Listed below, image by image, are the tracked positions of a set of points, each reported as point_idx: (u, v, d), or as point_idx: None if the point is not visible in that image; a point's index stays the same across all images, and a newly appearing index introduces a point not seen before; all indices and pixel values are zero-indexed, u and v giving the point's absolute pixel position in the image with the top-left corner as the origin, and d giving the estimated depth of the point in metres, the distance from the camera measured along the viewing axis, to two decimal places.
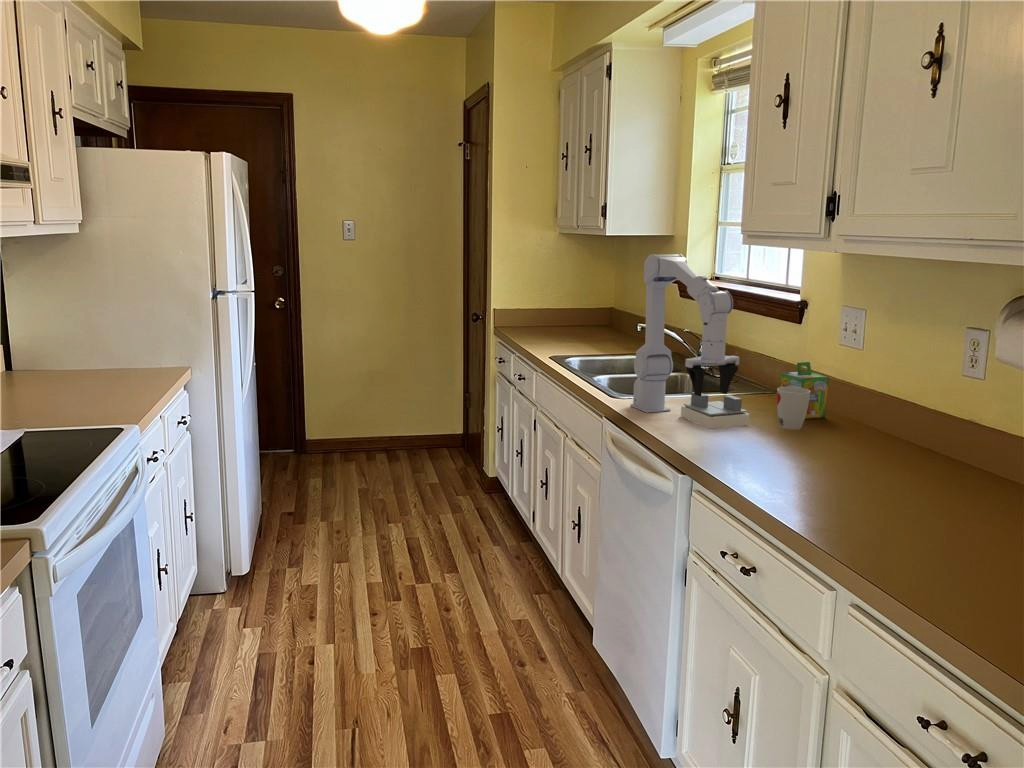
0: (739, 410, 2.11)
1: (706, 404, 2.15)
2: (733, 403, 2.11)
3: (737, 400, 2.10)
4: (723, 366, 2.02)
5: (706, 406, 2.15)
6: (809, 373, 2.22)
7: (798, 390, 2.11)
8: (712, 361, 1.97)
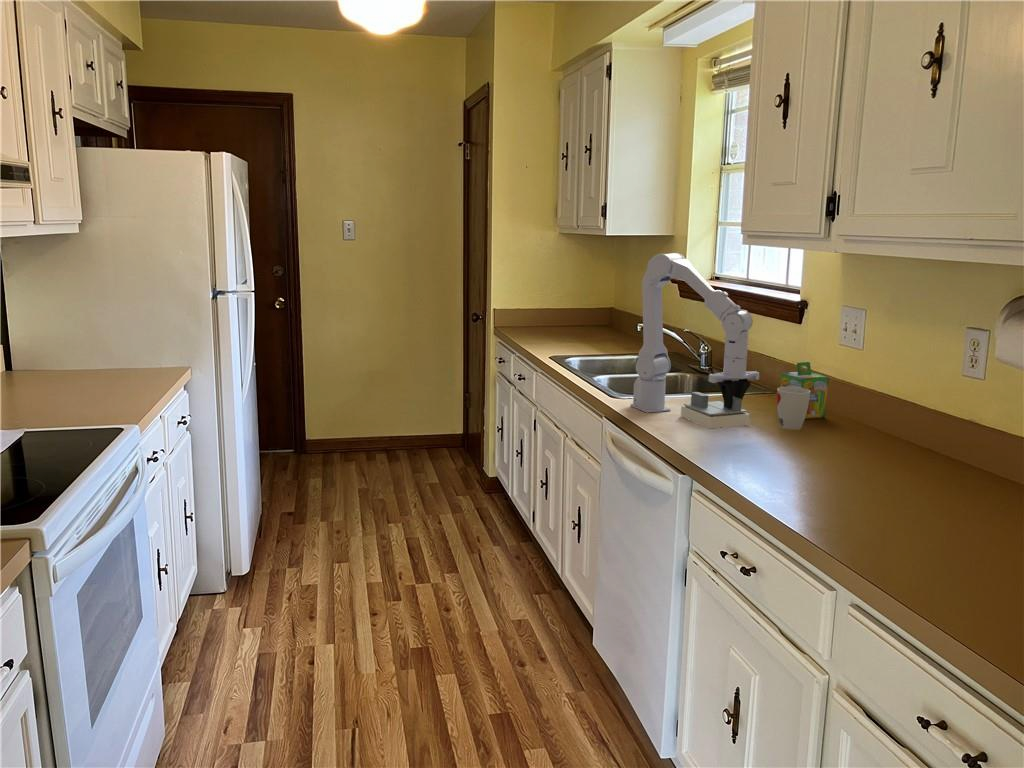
0: (739, 410, 2.11)
1: (706, 404, 2.15)
2: (733, 403, 2.11)
3: (737, 400, 2.10)
4: (736, 382, 2.13)
5: (706, 406, 2.15)
6: (809, 373, 2.22)
7: (798, 390, 2.11)
8: (734, 377, 2.09)
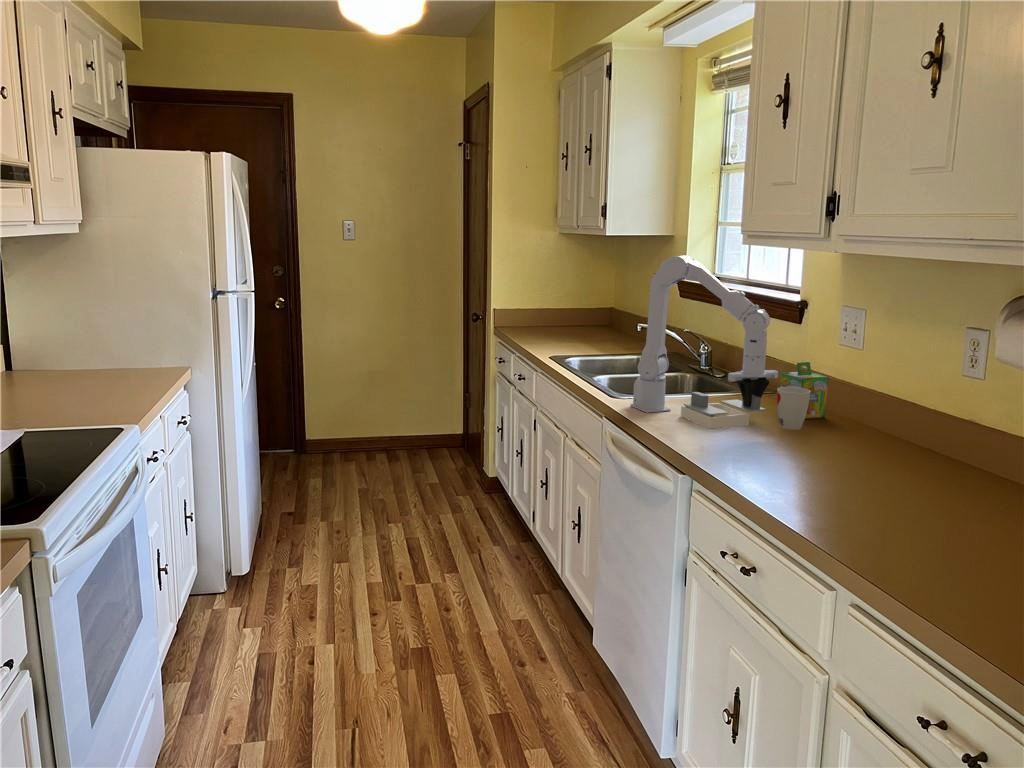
0: (758, 408, 2.13)
1: (706, 404, 2.15)
2: (752, 402, 2.13)
3: (756, 398, 2.13)
4: (755, 380, 2.15)
5: (706, 406, 2.15)
6: (809, 373, 2.22)
7: (798, 390, 2.11)
8: (753, 375, 2.11)
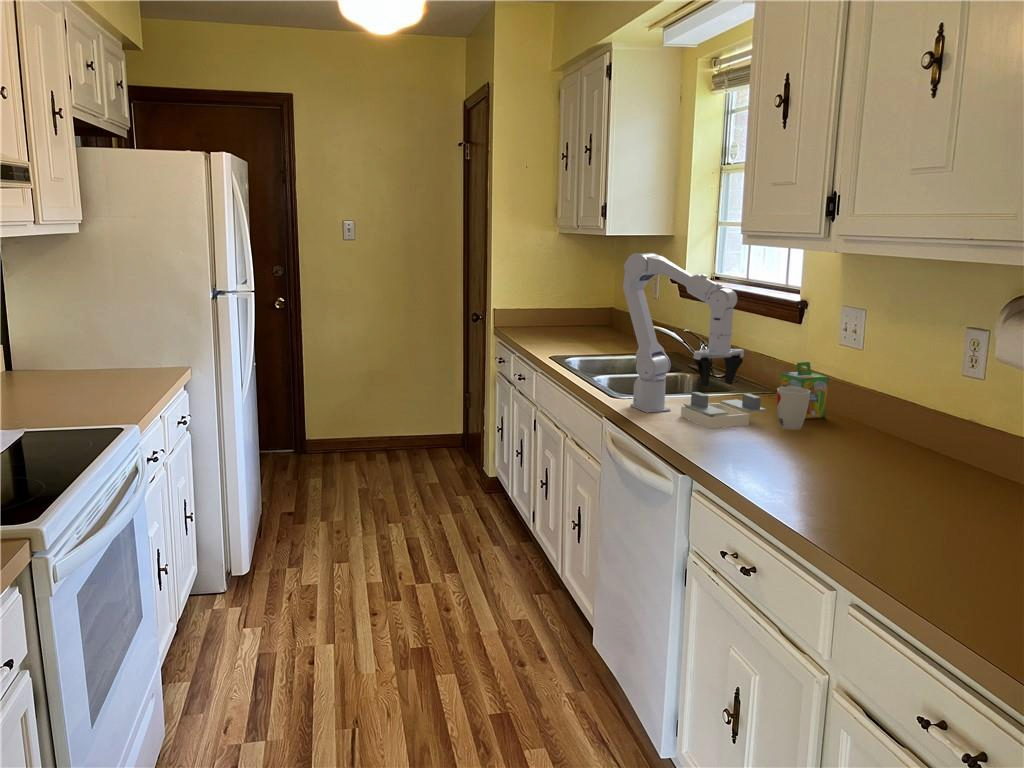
0: (758, 408, 2.13)
1: (706, 404, 2.15)
2: (752, 402, 2.13)
3: (756, 398, 2.13)
4: (728, 358, 2.16)
5: (706, 406, 2.15)
6: (809, 373, 2.22)
7: (798, 390, 2.11)
8: (719, 353, 2.11)
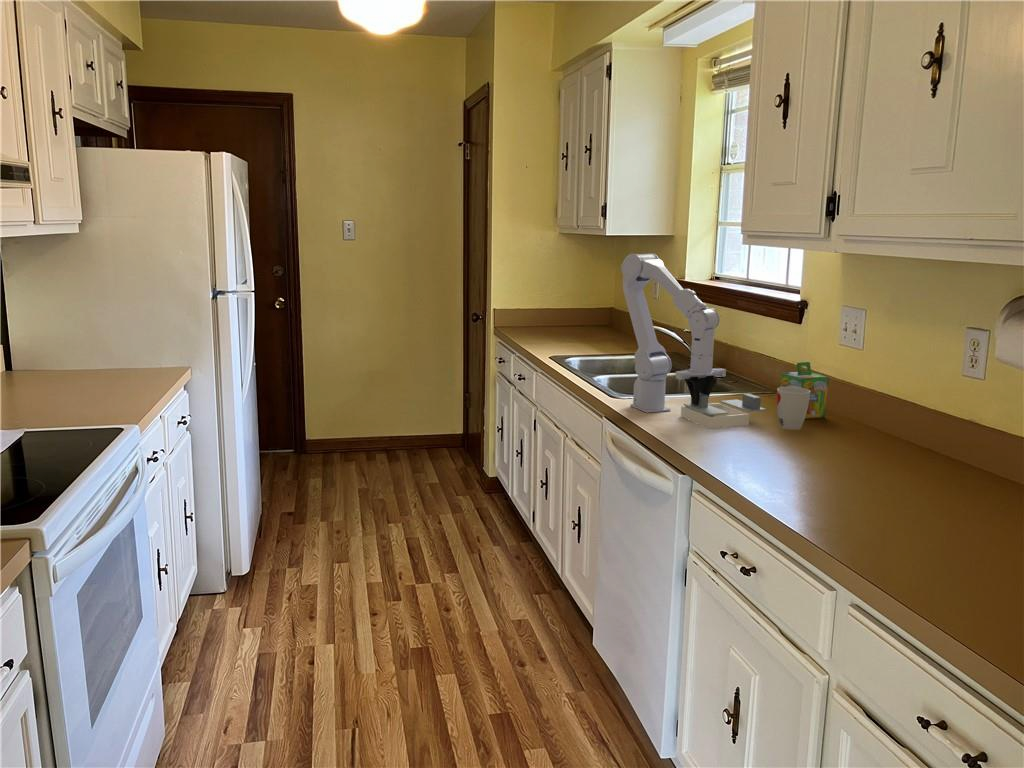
0: (758, 408, 2.13)
1: (706, 404, 2.15)
2: (752, 402, 2.13)
3: (756, 398, 2.13)
4: (703, 378, 2.17)
5: (706, 406, 2.15)
6: (809, 373, 2.22)
7: (798, 390, 2.11)
8: (700, 373, 2.12)
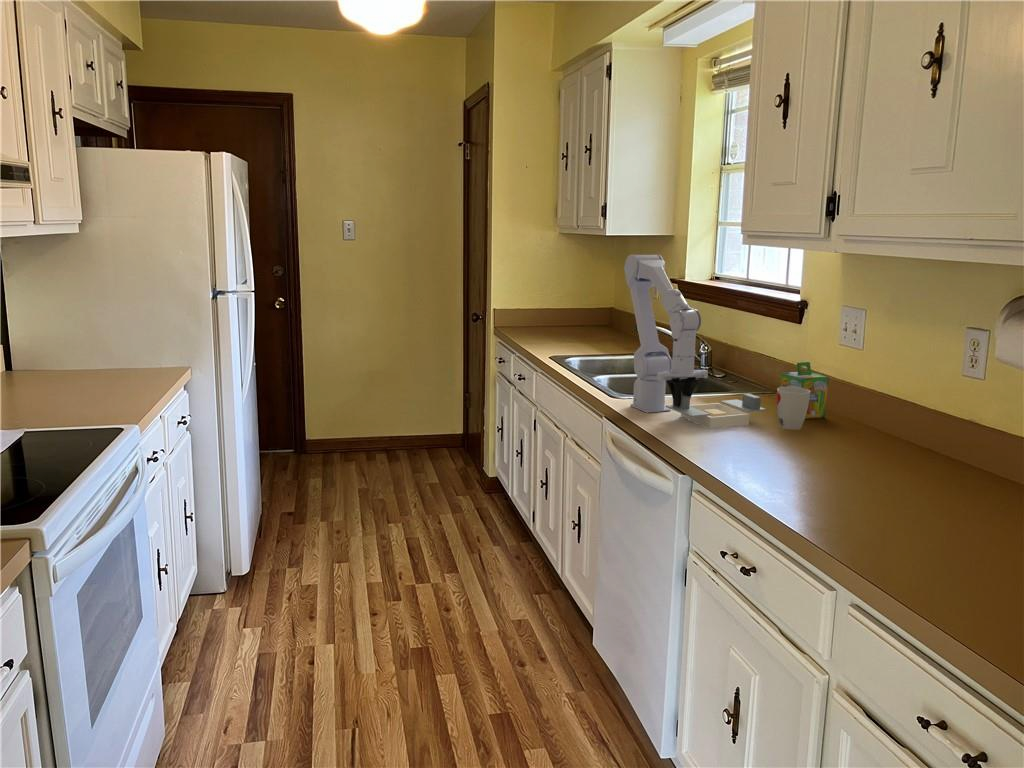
0: (758, 408, 2.13)
1: (688, 406, 2.13)
2: (752, 402, 2.13)
3: (756, 398, 2.13)
4: (684, 380, 2.15)
5: (688, 408, 2.13)
6: (809, 373, 2.22)
7: (798, 390, 2.11)
8: (682, 375, 2.10)
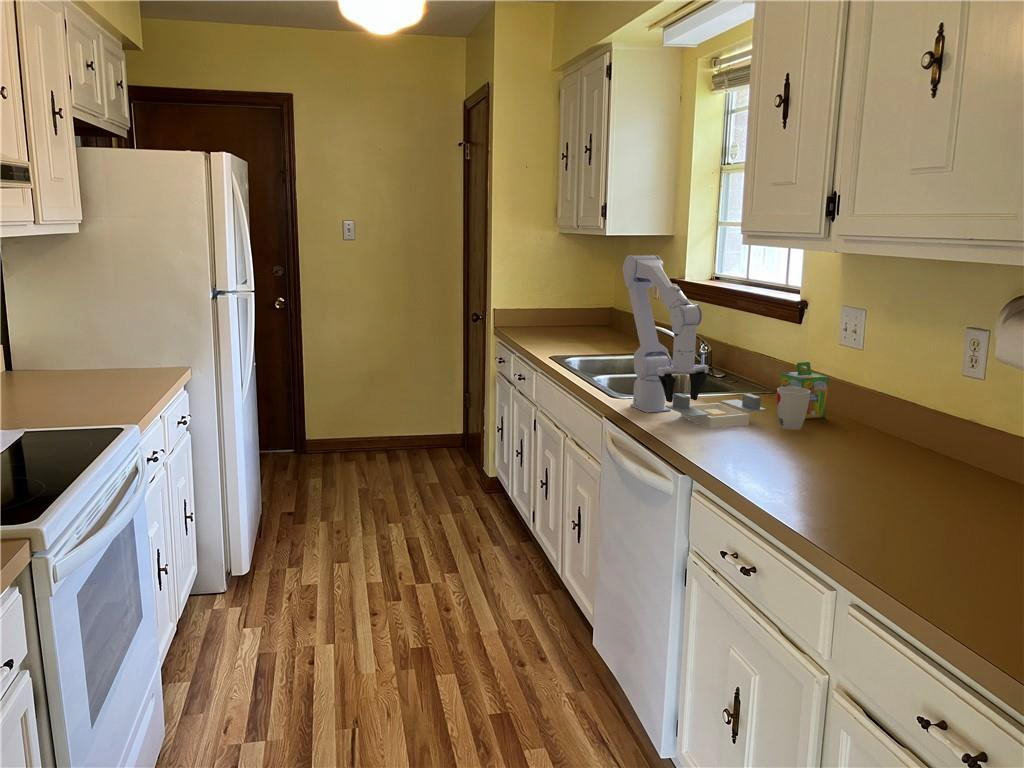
0: (758, 408, 2.13)
1: (688, 406, 2.13)
2: (752, 402, 2.13)
3: (756, 398, 2.13)
4: (693, 374, 2.16)
5: (688, 408, 2.13)
6: (809, 373, 2.22)
7: (798, 390, 2.11)
8: (682, 370, 2.10)
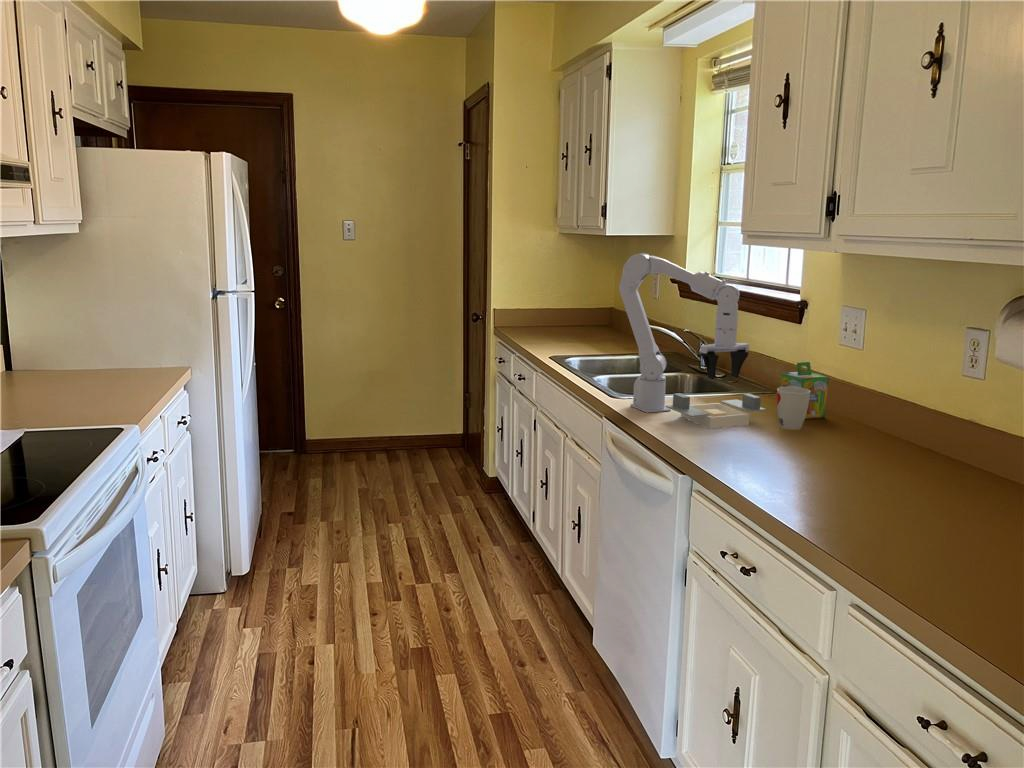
0: (758, 408, 2.13)
1: (688, 406, 2.13)
2: (752, 402, 2.13)
3: (756, 398, 2.13)
4: (734, 352, 2.22)
5: (688, 408, 2.13)
6: (809, 373, 2.22)
7: (798, 390, 2.11)
8: (725, 347, 2.17)
